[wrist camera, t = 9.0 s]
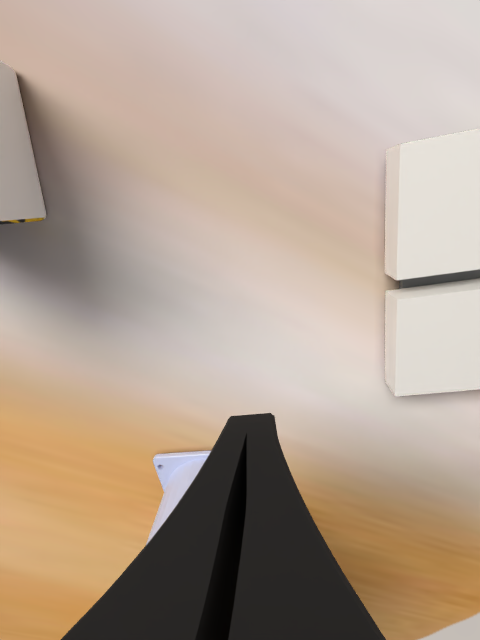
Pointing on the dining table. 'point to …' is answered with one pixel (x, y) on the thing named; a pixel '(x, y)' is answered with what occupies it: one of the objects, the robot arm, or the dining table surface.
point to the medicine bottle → (16, 157)
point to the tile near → (433, 206)
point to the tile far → (433, 338)
